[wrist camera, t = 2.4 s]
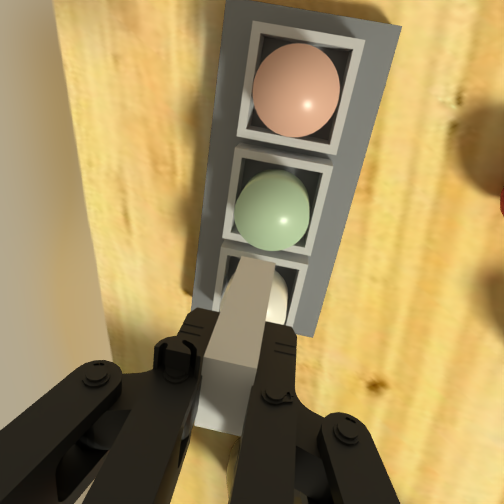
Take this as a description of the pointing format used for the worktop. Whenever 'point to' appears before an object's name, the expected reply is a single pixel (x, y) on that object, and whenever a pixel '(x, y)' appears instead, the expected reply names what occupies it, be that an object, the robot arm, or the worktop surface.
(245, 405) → the robot arm
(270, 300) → the cream button
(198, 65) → the worktop surface
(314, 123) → the terracotta button
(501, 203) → the onion
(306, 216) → the sage button
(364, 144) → the button panel
